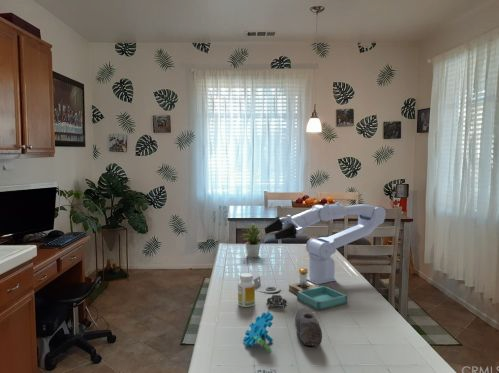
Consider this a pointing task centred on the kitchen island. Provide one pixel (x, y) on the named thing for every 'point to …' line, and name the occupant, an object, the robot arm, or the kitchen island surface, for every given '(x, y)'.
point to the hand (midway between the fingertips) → (270, 233)
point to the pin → (303, 277)
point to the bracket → (265, 287)
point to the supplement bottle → (246, 290)
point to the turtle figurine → (276, 301)
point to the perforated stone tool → (308, 327)
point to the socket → (296, 287)
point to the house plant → (252, 241)
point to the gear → (259, 331)
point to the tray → (321, 297)
